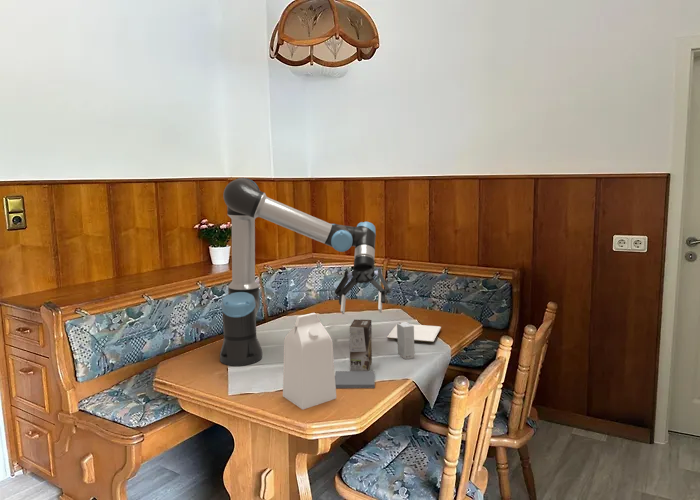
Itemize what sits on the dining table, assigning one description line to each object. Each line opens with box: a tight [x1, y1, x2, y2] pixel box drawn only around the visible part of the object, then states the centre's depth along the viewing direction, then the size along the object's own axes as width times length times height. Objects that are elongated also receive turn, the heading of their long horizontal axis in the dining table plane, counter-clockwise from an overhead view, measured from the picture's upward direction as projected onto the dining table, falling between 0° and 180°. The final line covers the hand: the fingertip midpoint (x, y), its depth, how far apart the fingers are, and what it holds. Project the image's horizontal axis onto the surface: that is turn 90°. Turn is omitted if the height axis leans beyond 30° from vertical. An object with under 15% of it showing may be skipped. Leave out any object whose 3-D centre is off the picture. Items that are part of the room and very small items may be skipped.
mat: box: [335, 370, 376, 389], centre depth 178 cm, size 11×13×1 cm
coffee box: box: [349, 319, 373, 371], centre depth 188 cm, size 9×6×16 cm
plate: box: [386, 323, 442, 344], centre depth 221 cm, size 19×19×2 cm
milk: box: [282, 312, 337, 410], centre depth 164 cm, size 12×12×26 cm
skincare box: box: [396, 321, 416, 360], centre depth 198 cm, size 6×4×12 cm
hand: (361, 311), depth 193 cm, fingers open, 13 cm apart
